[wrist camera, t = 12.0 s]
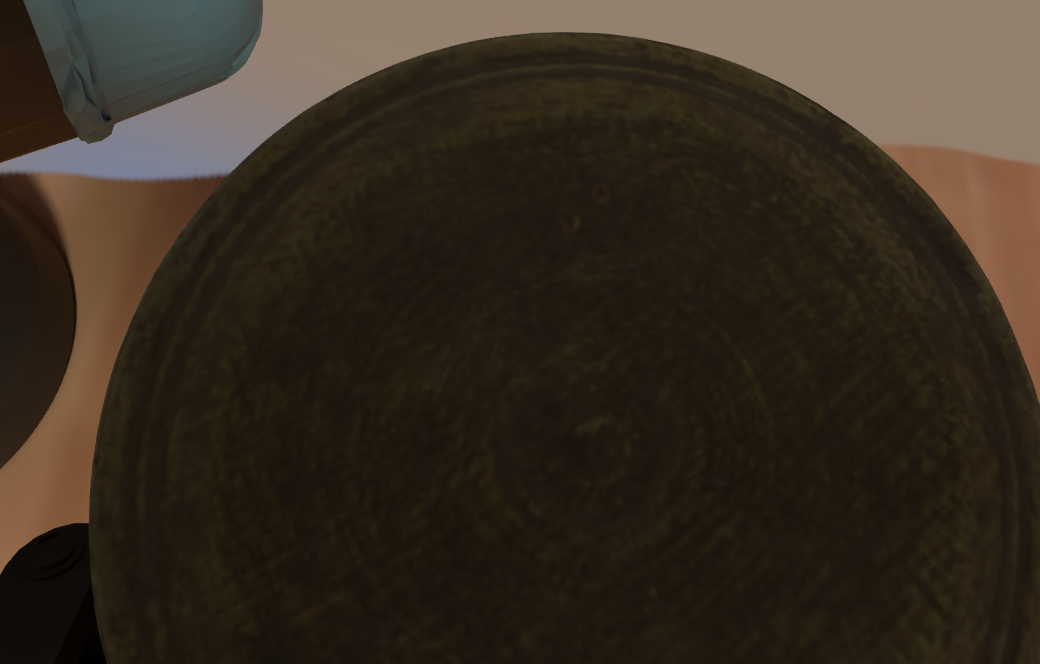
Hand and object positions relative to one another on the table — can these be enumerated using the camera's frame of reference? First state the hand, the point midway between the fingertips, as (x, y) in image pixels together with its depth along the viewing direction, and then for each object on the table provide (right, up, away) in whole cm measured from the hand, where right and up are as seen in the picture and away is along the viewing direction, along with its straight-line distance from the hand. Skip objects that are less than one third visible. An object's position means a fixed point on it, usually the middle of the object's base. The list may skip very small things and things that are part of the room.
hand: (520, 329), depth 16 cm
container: (0, -5, +7) cm, 8 cm away
